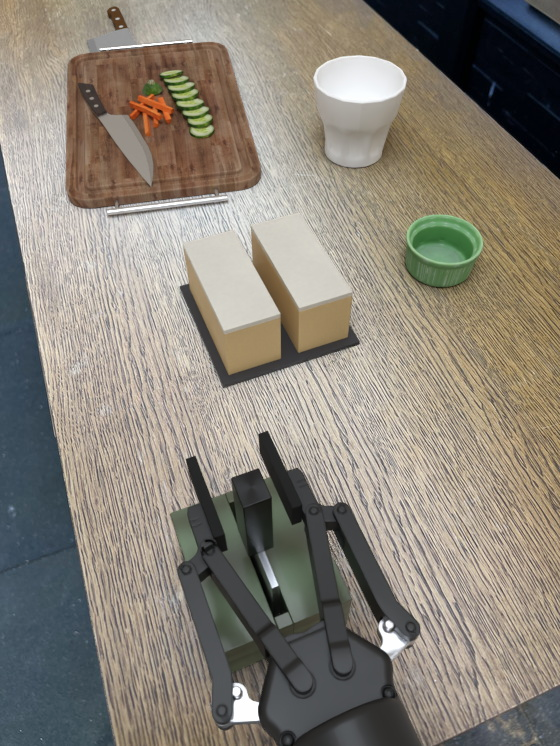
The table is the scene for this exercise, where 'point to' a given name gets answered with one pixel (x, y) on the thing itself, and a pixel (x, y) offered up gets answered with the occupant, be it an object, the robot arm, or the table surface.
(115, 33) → the kitchen cleaver
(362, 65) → the cup
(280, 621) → the knife block
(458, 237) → the ramekin
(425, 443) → the table surface
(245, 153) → the chopping board
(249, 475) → the black-handled knife
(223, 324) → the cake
